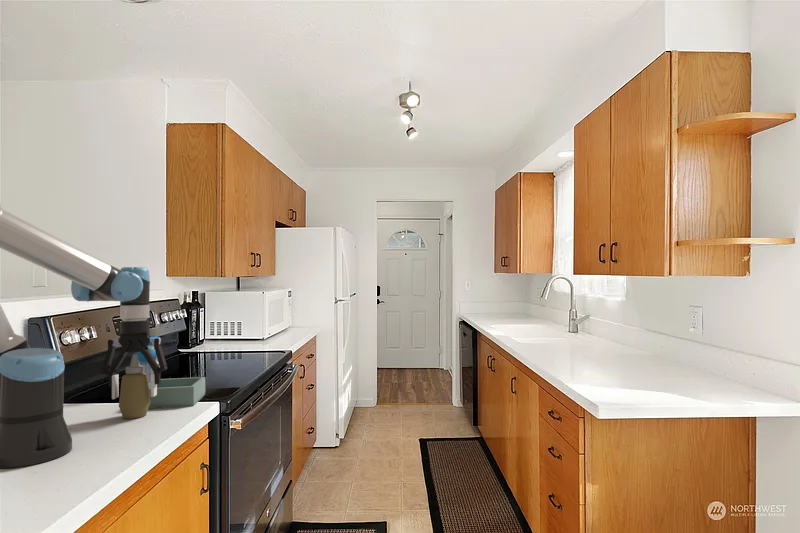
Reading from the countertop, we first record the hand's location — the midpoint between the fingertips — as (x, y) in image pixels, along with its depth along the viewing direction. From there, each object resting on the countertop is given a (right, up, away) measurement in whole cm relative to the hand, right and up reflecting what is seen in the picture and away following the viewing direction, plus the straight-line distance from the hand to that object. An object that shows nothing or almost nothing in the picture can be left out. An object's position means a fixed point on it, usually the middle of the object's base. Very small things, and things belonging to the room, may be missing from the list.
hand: (134, 396), depth 138 cm
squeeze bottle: (0, -6, 0) cm, 6 cm away
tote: (+3, -6, +18) cm, 19 cm away
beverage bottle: (-12, -7, +30) cm, 33 cm away
